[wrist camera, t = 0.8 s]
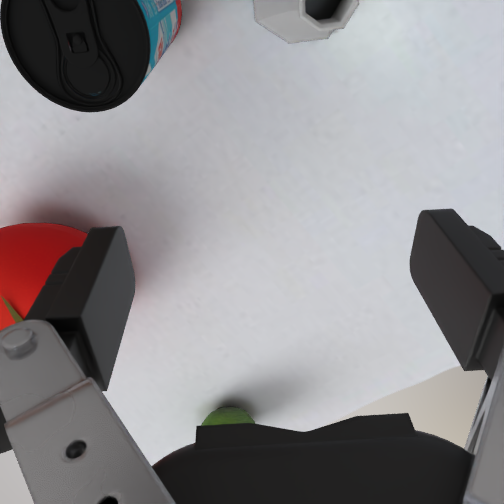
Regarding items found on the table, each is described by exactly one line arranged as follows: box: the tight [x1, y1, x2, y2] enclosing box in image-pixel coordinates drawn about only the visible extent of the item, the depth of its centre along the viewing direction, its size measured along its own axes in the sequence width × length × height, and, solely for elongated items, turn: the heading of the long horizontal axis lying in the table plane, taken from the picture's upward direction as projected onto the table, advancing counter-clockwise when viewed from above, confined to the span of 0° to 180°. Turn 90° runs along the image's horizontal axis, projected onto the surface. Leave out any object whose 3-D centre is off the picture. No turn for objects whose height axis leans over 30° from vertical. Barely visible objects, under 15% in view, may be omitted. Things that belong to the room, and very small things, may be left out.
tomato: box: [0, 223, 88, 331], centre depth 38 cm, size 14×13×10 cm
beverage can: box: [0, 0, 182, 112], centre depth 24 cm, size 6×6×15 cm
